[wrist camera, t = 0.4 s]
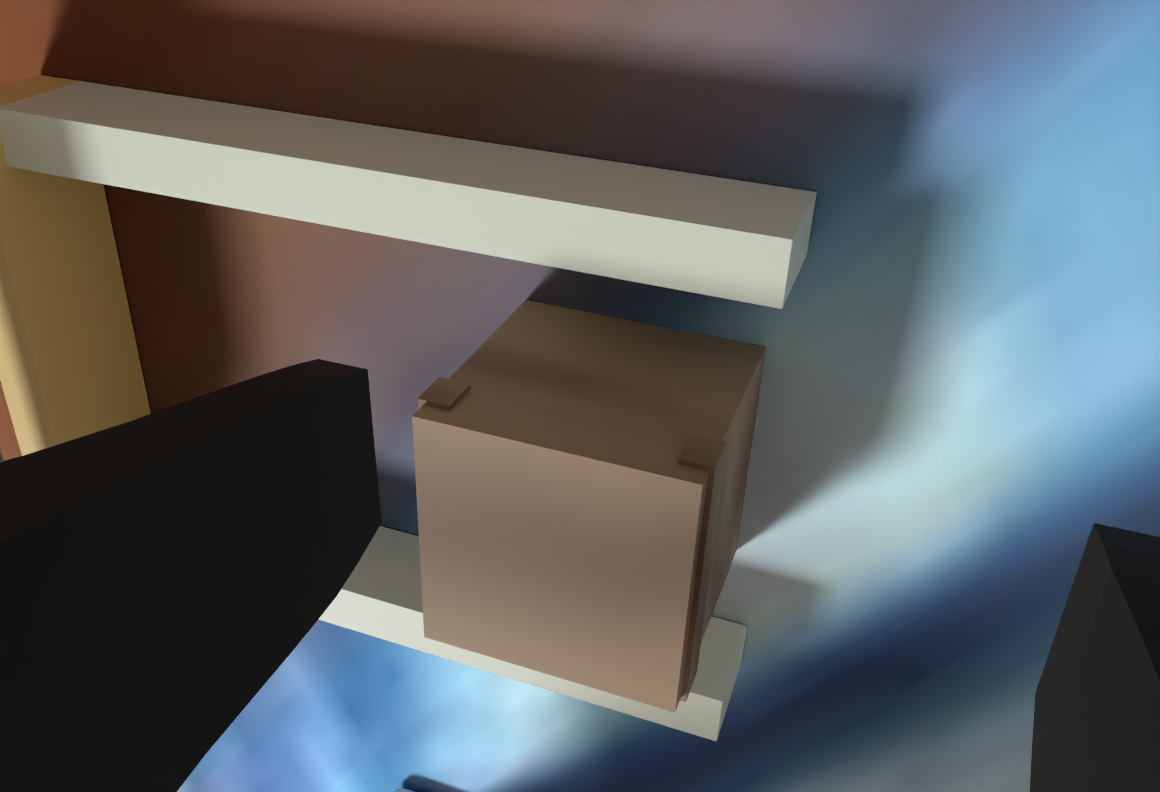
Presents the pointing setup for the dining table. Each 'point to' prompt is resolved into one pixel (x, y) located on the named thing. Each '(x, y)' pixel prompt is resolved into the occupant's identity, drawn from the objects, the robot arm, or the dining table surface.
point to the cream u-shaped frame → (362, 203)
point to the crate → (585, 496)
